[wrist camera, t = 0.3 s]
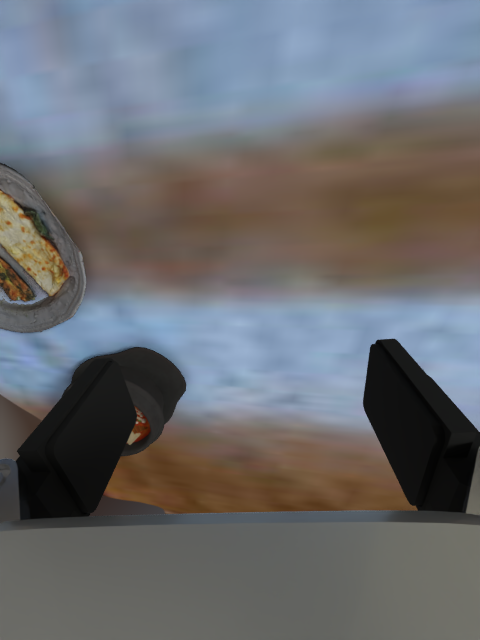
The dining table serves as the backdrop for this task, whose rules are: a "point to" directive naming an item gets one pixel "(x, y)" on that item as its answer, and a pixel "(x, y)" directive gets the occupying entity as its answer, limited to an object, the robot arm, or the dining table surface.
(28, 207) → the food plate
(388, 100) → the dining table surface
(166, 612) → the robot arm
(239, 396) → the dining table surface
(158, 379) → the casserole
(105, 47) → the dining table surface
